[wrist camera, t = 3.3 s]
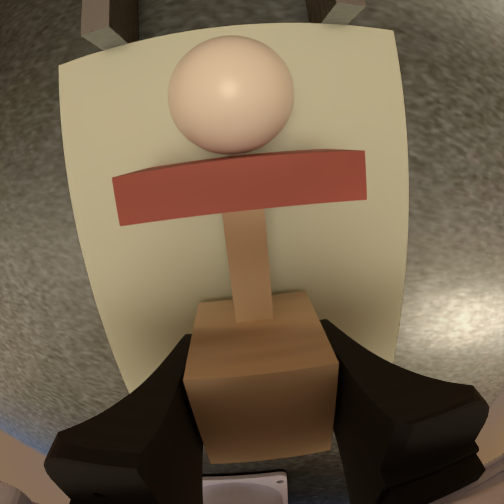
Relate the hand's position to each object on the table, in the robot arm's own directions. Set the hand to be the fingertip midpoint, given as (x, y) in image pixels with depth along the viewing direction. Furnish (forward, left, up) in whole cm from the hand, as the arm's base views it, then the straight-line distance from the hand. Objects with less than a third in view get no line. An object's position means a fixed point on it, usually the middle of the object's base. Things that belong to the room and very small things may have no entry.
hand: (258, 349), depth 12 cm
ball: (+9, 0, 0) cm, 9 cm away
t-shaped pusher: (+2, 0, -1) cm, 2 cm away
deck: (+3, 0, -3) cm, 4 cm away
